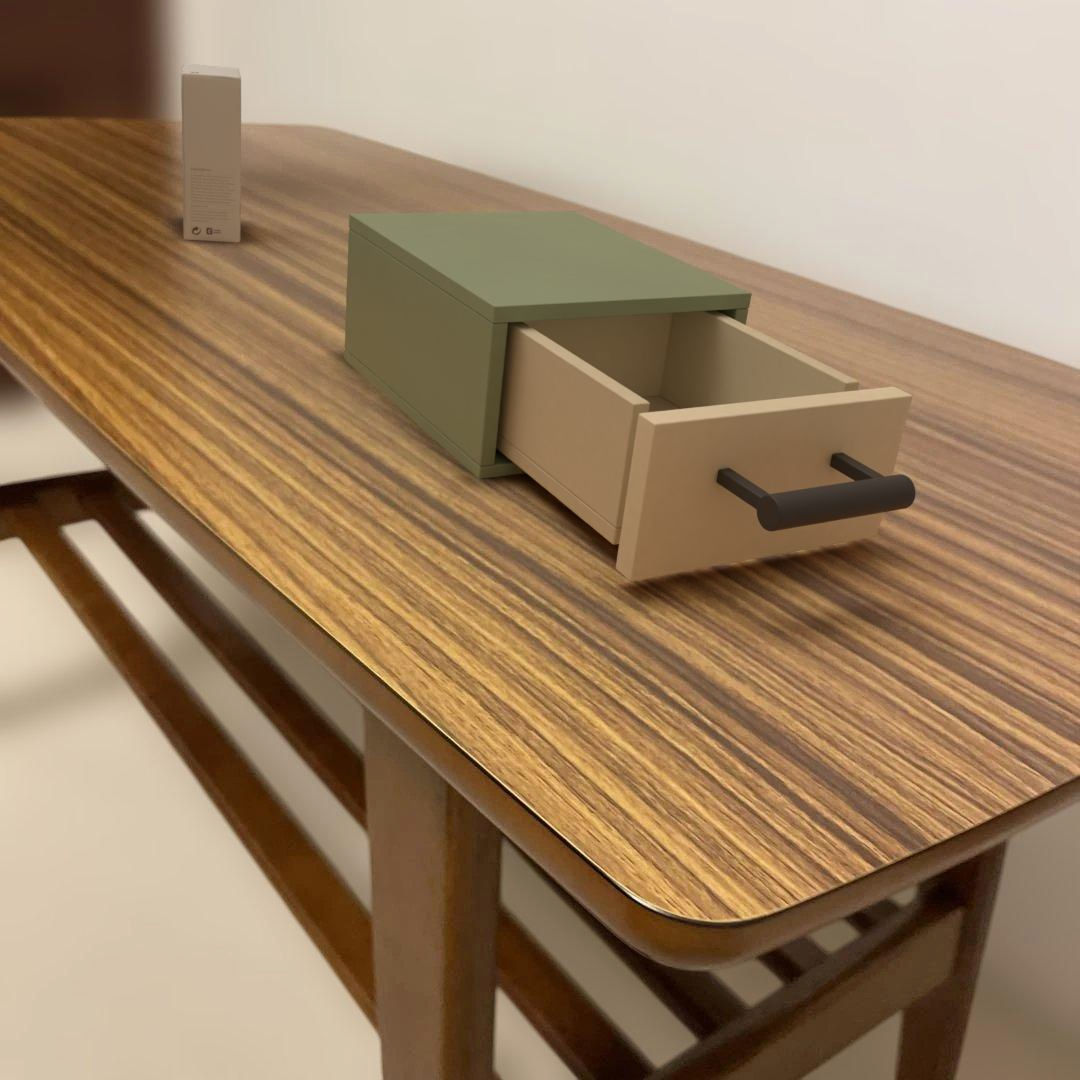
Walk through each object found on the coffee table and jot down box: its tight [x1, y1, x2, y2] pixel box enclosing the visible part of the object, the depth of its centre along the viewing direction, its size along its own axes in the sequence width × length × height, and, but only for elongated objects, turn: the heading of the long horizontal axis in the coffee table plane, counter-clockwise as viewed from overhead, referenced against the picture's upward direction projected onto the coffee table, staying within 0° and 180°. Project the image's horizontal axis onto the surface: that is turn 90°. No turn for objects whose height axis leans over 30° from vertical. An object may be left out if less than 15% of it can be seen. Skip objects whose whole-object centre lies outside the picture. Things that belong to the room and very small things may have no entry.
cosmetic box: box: [180, 62, 242, 243], centre depth 93 cm, size 6×4×12 cm
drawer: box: [496, 310, 917, 582], centre depth 56 cm, size 21×13×7 cm, turn 29°
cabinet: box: [343, 210, 753, 480], centre depth 67 cm, size 18×15×9 cm
